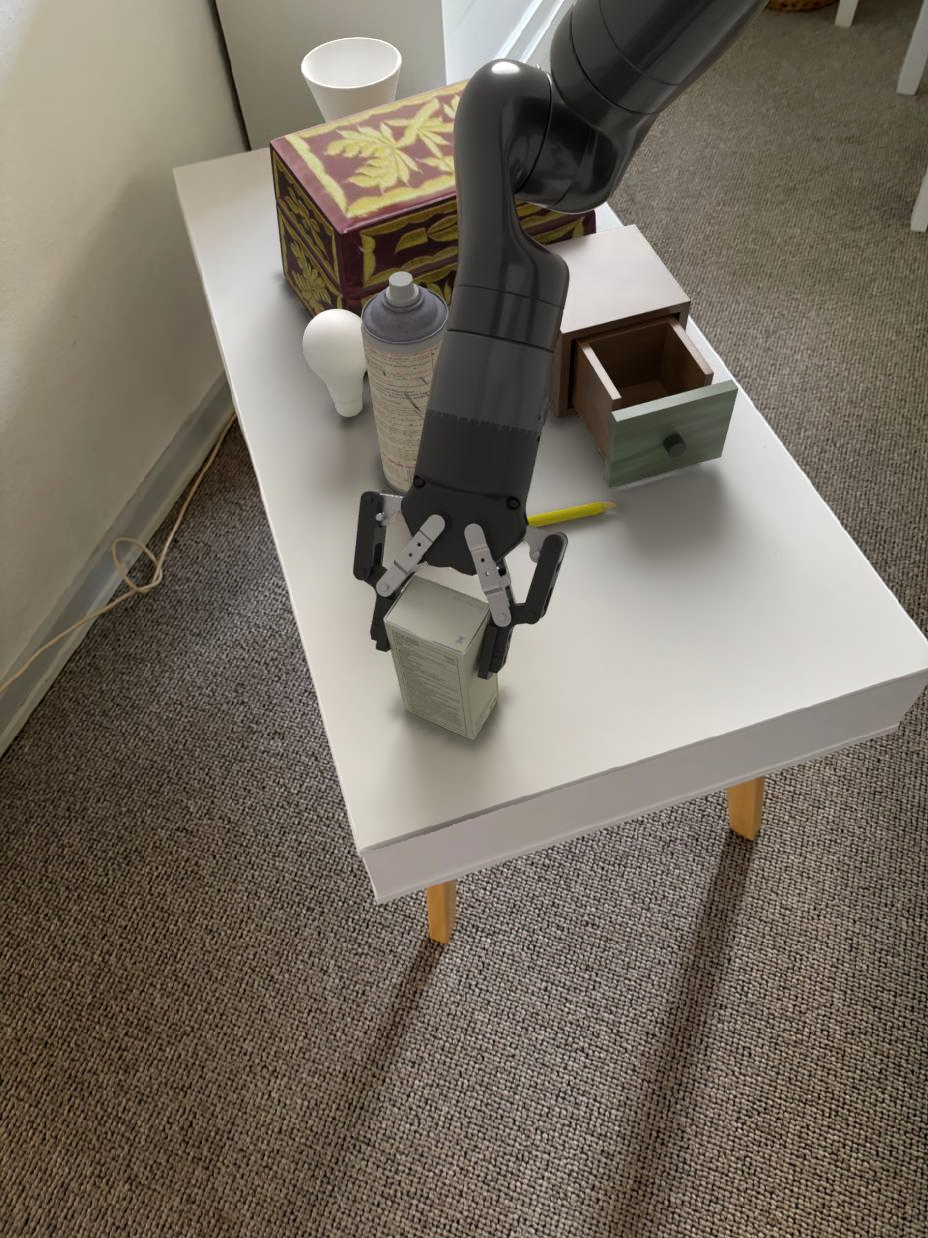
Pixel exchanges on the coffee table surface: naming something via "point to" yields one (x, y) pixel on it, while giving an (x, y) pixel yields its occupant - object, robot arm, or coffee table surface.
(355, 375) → the lightbulb
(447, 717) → the cosmetic box
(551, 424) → the coffee table surface
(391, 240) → the decorative box
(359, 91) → the cup
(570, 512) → the pencil
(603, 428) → the drawer
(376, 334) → the aerosol can
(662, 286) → the cabinet
